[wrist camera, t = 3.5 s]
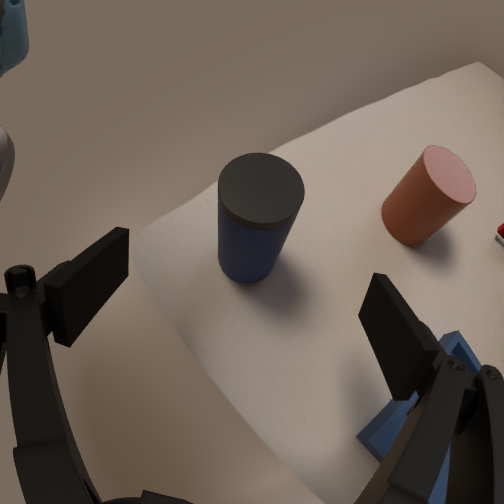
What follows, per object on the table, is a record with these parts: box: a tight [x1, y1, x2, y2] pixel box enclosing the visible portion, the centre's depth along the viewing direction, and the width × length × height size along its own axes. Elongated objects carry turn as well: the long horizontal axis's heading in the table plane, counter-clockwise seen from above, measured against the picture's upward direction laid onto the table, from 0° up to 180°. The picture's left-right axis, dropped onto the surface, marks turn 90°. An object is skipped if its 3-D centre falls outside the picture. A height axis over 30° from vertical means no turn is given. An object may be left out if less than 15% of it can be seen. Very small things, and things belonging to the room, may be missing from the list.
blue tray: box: [356, 330, 482, 504], centre depth 20 cm, size 20×14×2 cm
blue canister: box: [218, 153, 305, 283], centre depth 22 cm, size 5×5×11 cm
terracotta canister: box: [382, 145, 476, 246], centre depth 27 cm, size 6×6×9 cm
